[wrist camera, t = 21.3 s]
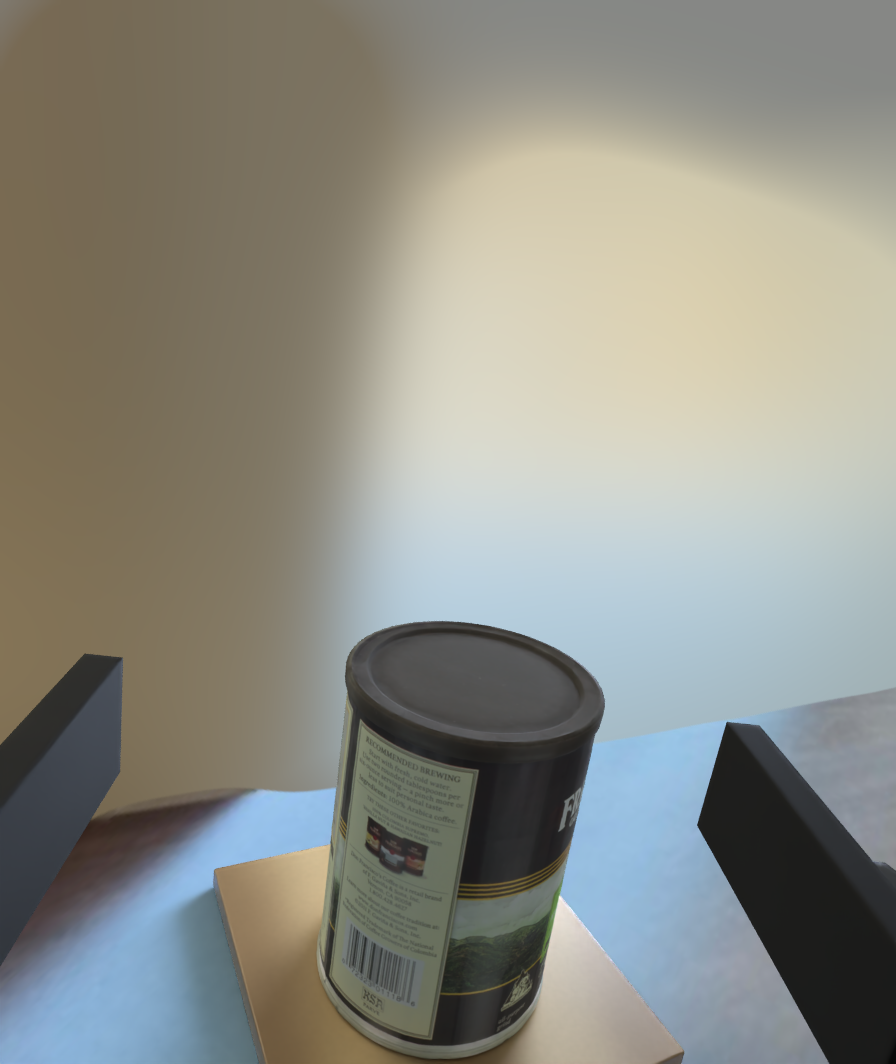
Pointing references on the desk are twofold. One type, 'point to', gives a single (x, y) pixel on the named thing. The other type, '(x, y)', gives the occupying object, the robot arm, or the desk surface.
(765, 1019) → the desk surface
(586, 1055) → the cork mat
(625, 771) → the desk surface
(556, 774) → the coffee can
